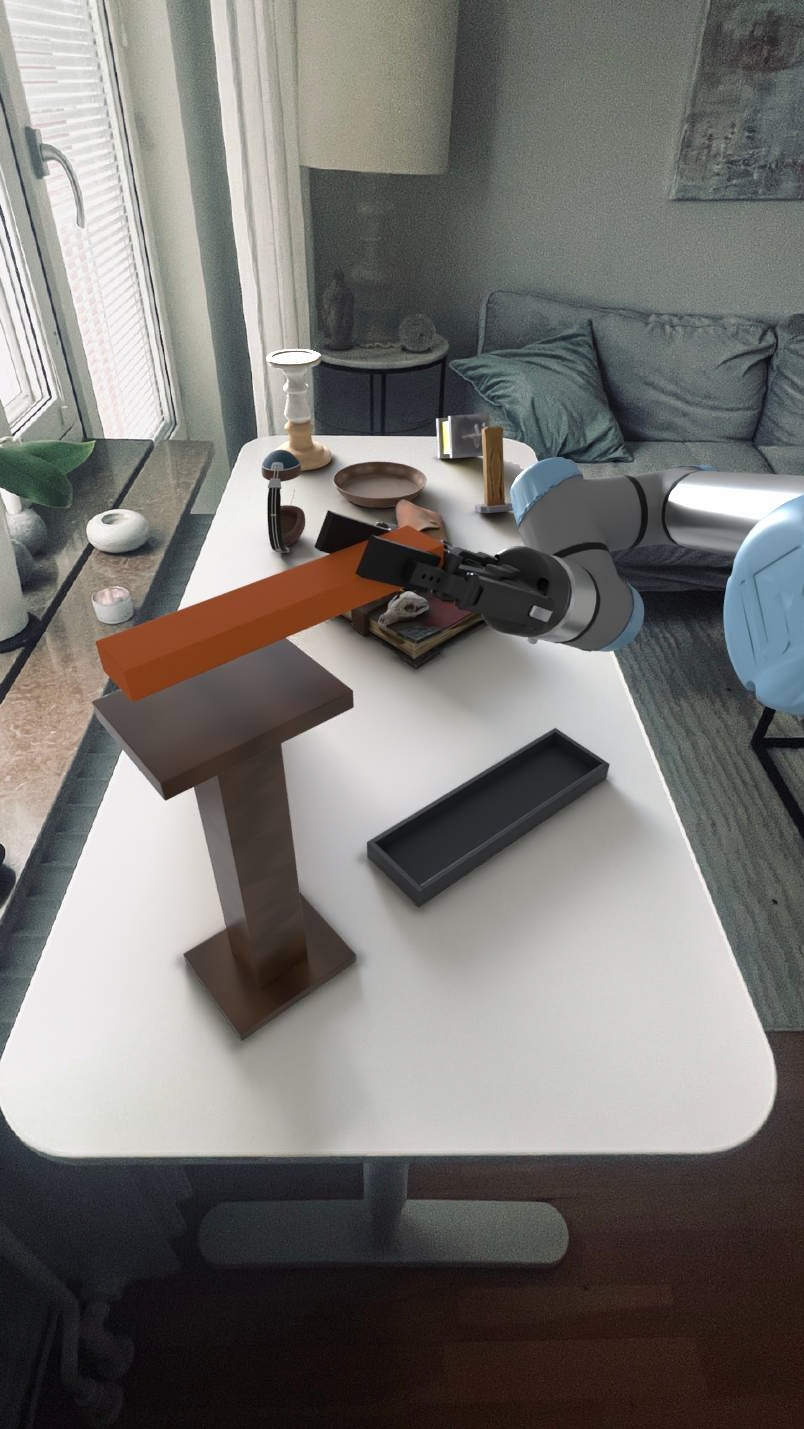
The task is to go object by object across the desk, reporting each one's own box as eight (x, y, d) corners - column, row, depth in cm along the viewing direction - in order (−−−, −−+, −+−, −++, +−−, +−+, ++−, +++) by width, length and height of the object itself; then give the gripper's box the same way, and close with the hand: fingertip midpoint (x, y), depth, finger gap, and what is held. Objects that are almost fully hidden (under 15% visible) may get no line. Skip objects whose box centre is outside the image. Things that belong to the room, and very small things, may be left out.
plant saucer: (402, 469, 159) (402, 454, 157) (442, 503, 147) (443, 487, 145) (319, 484, 153) (318, 469, 152) (355, 520, 141) (354, 504, 139)
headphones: (278, 503, 144) (260, 573, 128) (269, 423, 133) (248, 489, 118) (312, 504, 144) (298, 574, 128) (306, 424, 133) (289, 490, 118)
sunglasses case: (457, 560, 129) (437, 528, 125) (420, 581, 130) (399, 551, 127) (441, 512, 143) (422, 483, 139) (407, 532, 144) (388, 504, 140)
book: (503, 624, 115) (507, 579, 110) (413, 673, 106) (414, 627, 101) (383, 559, 130) (382, 517, 126) (295, 597, 121) (291, 554, 116)
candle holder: (287, 445, 169) (277, 345, 156) (340, 452, 166) (335, 350, 153) (261, 467, 160) (249, 362, 147) (318, 474, 157) (310, 368, 144)
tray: (552, 741, 95) (555, 727, 93) (606, 778, 90) (610, 763, 89) (367, 856, 81) (366, 841, 80) (418, 907, 76) (419, 892, 75)
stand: (303, 887, 78) (272, 626, 59) (365, 954, 72) (353, 690, 53) (174, 966, 71) (91, 700, 52) (230, 1048, 65) (160, 783, 46)
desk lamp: (440, 504, 167) (478, 513, 139) (436, 418, 162) (475, 410, 133) (475, 501, 168) (520, 510, 140) (472, 416, 163) (518, 407, 135)
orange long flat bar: (407, 551, 59) (407, 524, 58) (443, 571, 57) (444, 544, 56) (103, 671, 48) (94, 640, 46) (132, 703, 45) (124, 672, 44)
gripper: (590, 677, 66) (405, 650, 48) (451, 596, 76) (257, 549, 59) (633, 595, 64) (455, 535, 46) (484, 522, 74) (292, 451, 56)
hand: (345, 543), depth 52 cm, fingers closed on orange long flat bar, 4 cm apart
